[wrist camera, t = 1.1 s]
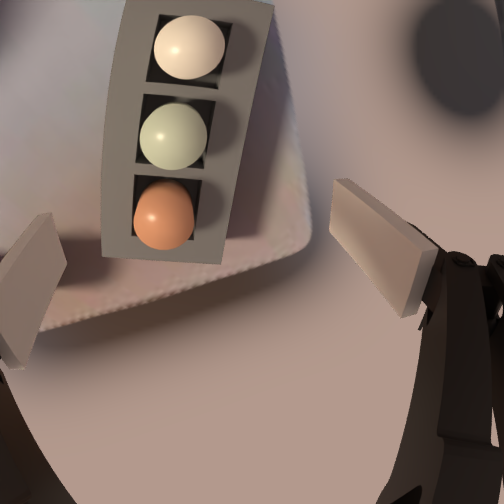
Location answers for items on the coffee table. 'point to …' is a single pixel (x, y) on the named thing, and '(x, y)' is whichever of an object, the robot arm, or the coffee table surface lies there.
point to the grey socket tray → (194, 94)
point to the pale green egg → (173, 136)
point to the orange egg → (164, 215)
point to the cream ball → (189, 47)
